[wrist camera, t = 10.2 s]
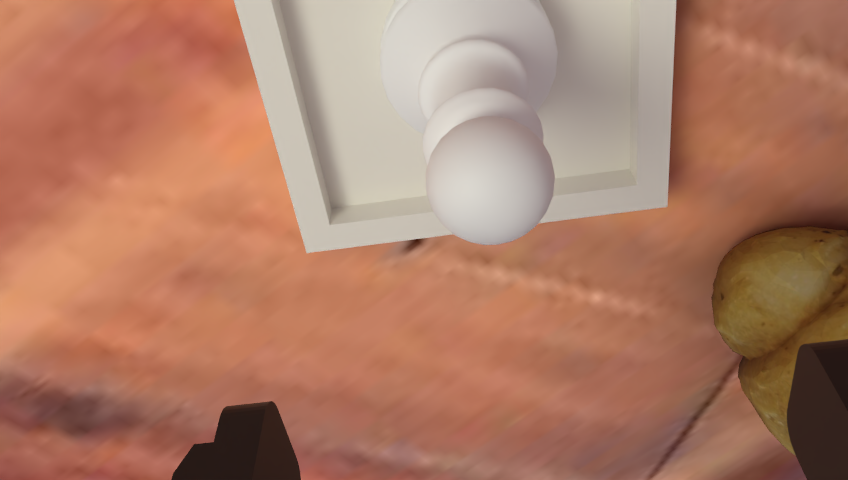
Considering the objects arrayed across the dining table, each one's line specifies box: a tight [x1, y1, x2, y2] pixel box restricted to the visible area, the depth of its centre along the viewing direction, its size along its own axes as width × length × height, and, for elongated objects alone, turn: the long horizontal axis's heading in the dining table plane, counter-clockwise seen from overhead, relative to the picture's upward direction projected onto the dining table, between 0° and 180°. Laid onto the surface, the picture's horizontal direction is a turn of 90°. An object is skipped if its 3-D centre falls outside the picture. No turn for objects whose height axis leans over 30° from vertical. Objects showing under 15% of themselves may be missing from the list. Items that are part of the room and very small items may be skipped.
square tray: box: [234, 0, 676, 253], centre depth 24 cm, size 12×12×2 cm
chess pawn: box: [380, 0, 558, 245], centre depth 20 cm, size 5×5×9 cm
